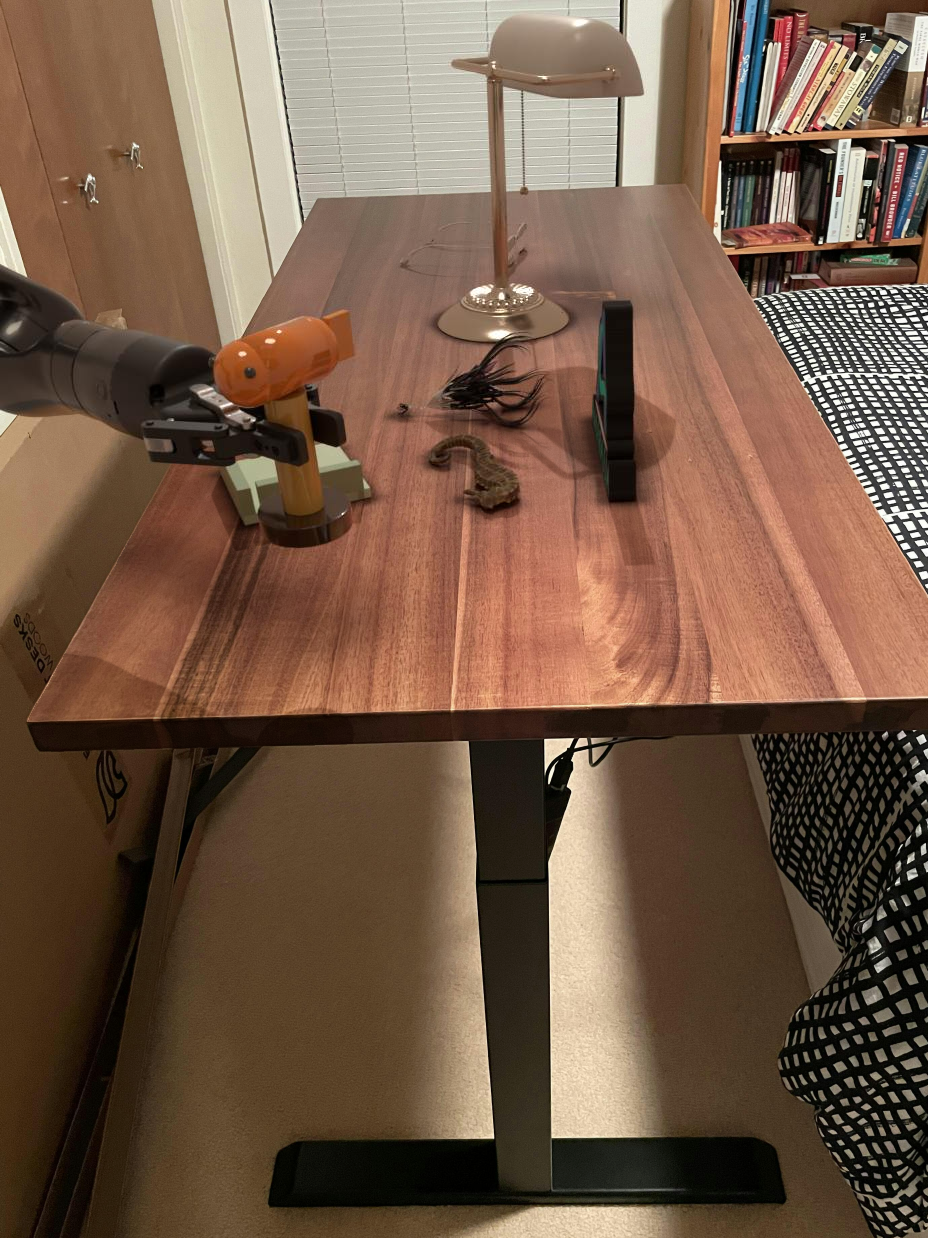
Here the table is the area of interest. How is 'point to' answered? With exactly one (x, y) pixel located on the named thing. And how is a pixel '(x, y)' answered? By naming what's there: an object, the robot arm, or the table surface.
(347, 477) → the corner tray
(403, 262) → the eyeglasses
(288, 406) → the goldfish figurine
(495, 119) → the lamp
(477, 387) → the feather lure
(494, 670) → the table surface
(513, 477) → the seahorse
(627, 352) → the decorative sign
